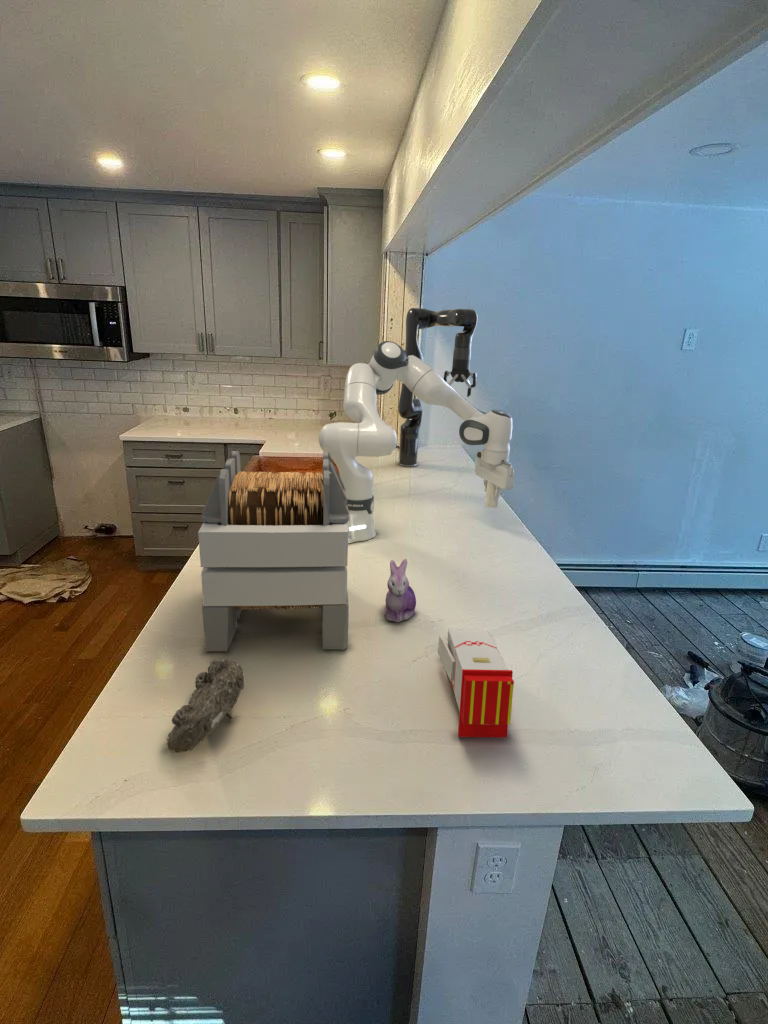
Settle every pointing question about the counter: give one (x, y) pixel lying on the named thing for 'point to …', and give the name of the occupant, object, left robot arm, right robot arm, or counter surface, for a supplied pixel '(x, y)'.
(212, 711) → the fossil
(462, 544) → the counter surface
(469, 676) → the toy
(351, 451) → the left robot arm
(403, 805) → the counter surface
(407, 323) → the right robot arm
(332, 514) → the grey record crate
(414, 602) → the figurine
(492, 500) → the canister
